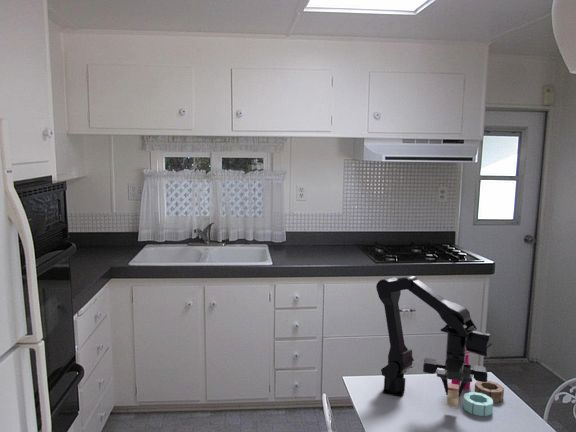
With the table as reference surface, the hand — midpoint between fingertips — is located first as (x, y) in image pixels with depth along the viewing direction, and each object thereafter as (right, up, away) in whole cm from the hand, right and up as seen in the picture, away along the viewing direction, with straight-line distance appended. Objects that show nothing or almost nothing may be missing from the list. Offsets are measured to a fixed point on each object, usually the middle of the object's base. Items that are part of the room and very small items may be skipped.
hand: (452, 395), depth 149 cm
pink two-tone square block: (0, -3, 0) cm, 3 cm away
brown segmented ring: (+17, -5, +13) cm, 22 cm away
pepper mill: (+10, -4, +20) cm, 23 cm away
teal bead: (+9, -6, +4) cm, 12 cm away
